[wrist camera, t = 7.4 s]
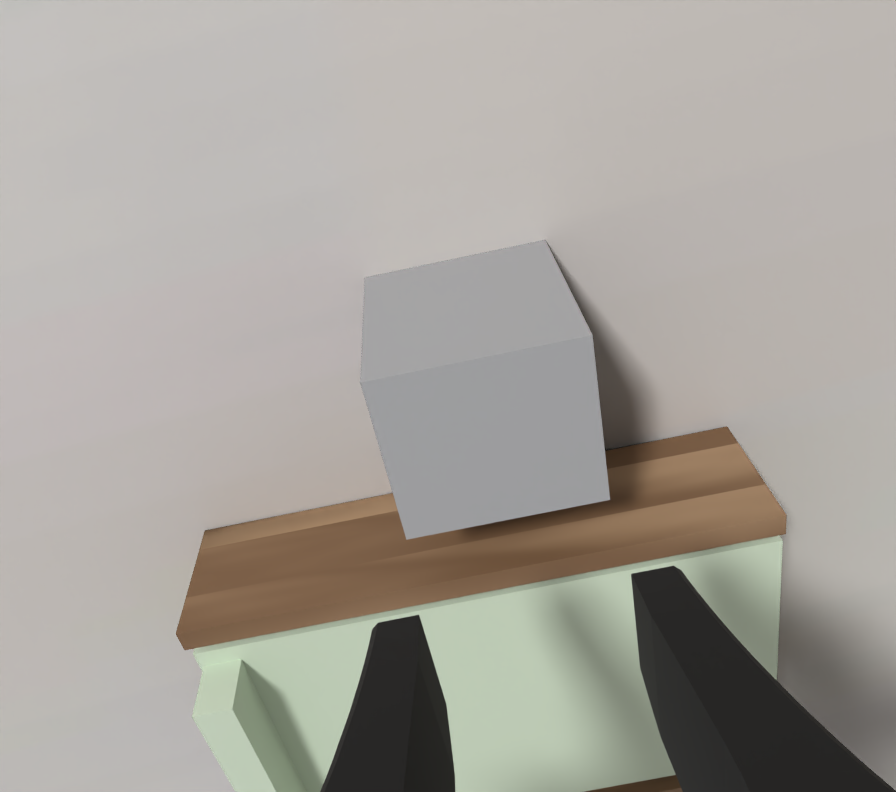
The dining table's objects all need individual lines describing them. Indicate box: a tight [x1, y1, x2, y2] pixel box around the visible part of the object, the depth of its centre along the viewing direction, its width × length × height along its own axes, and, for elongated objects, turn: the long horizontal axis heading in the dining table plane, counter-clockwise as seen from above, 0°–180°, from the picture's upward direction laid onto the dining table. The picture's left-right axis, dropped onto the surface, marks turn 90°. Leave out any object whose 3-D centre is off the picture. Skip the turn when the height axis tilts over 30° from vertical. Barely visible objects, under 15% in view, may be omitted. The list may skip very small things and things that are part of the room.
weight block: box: [360, 240, 610, 540], centre depth 18 cm, size 4×4×5 cm
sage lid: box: [192, 535, 783, 792], centre depth 22 cm, size 9×15×2 cm, turn 101°
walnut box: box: [176, 427, 786, 792], centre depth 24 cm, size 11×15×4 cm
